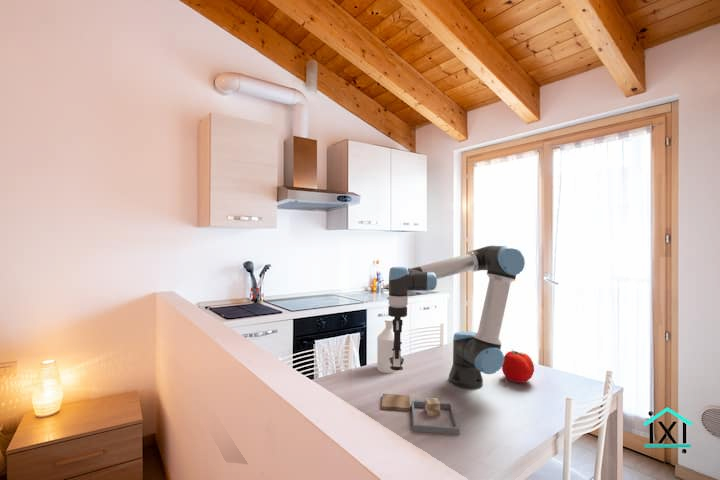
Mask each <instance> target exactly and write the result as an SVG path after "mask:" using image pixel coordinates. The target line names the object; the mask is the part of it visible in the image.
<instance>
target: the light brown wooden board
mask: <svg viewBox="0 0 720 480" xmlns="http://www.w3.org/2000/svg"><path fill="white" fill-rule="evenodd" d="M381 410H386V411H387V410H389V411H400V412H401V411H403V412H405V411H406V412H411V401H410V395H409V394H395V393H393V394H392V393H382V399H381Z"/></svg>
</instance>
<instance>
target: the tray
mask: <svg viewBox="0 0 720 480" xmlns="http://www.w3.org/2000/svg"><path fill="white" fill-rule="evenodd" d="M439 402H440V401H439ZM415 408H425V401H424V400H411V415H412V417H411V418H412V419H411V420H412V427H413V428H412V430H413V432H422V433H424V432H425V433H437V434H446V435H447V434H448V435H460V434H461V433H460V432H461V429H460V425H459V422H458V418H457V416H456V412H455V409H454V406H453V402H440V409H443V410H449V411H450V416H451V418H452V421H453V424H454V426H445V425H434V424H433V425H432V424H419V423H418V424H417V422H416V412H415Z"/></svg>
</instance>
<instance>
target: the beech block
mask: <svg viewBox="0 0 720 480" xmlns="http://www.w3.org/2000/svg"><path fill="white" fill-rule="evenodd" d="M424 411H425V412H426V413H427V416H441V408H440V401H439V399H438V397H425V407H424Z"/></svg>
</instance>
